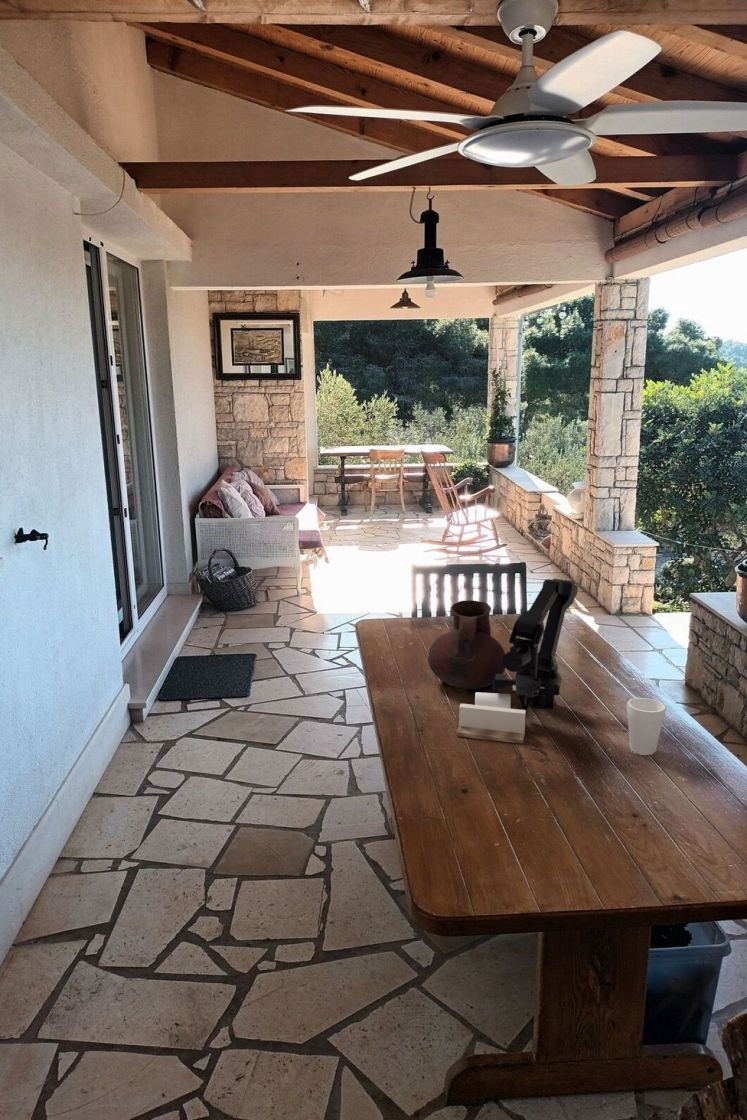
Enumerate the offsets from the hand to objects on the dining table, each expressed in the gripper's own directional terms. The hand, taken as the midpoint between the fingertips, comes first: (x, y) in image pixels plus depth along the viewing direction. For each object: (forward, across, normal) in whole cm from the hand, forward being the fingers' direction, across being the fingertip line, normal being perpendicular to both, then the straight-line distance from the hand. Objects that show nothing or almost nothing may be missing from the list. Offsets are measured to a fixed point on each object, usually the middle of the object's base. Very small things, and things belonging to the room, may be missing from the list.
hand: (524, 712), depth 224 cm
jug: (+3, -20, +24) cm, 32 cm away
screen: (+2, -8, -12) cm, 15 cm away
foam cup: (+3, +32, -11) cm, 34 cm away
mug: (+3, -9, 0) cm, 10 cm away
